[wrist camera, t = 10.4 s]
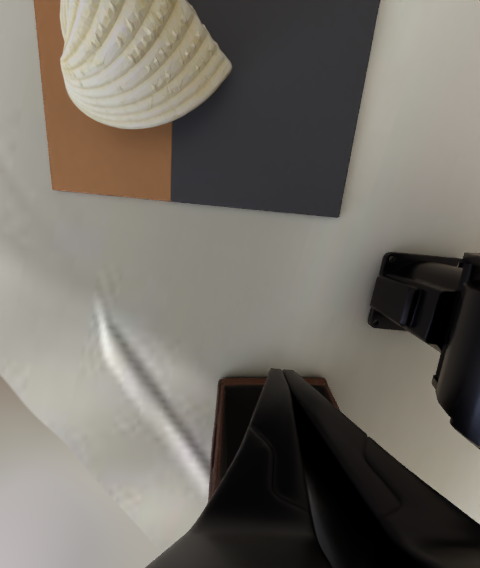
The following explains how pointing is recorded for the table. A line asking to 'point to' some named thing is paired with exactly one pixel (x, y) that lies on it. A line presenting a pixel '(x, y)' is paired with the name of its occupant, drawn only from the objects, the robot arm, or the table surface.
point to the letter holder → (240, 419)
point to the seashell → (138, 60)
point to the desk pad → (230, 113)
